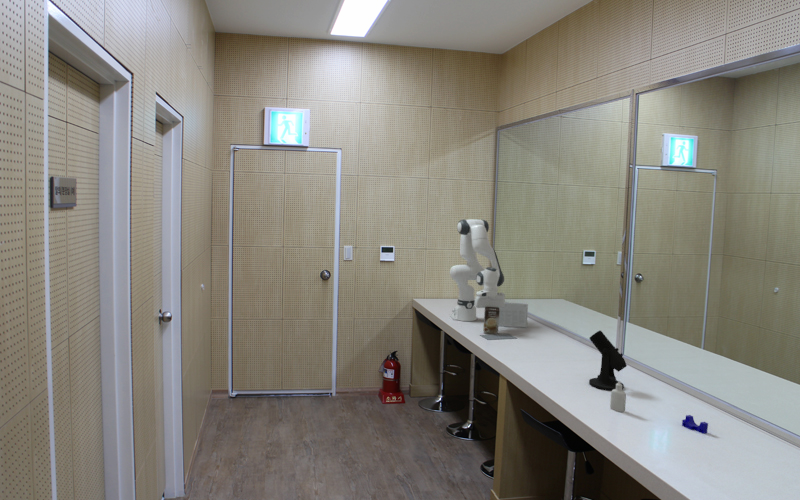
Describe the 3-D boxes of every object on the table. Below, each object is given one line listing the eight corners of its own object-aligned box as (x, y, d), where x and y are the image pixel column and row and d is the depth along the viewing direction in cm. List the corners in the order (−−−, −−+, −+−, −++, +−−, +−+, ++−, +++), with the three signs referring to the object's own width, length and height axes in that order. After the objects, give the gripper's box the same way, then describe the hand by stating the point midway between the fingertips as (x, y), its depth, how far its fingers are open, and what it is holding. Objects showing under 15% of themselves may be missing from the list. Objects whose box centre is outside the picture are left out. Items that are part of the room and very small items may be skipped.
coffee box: (483, 333, 342) (484, 309, 337) (483, 329, 348) (484, 306, 344) (498, 334, 341) (499, 310, 337) (497, 330, 347) (498, 306, 343)
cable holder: (682, 426, 205) (682, 415, 204) (689, 425, 206) (689, 415, 205) (699, 434, 197) (700, 424, 197) (707, 433, 198) (708, 423, 198)
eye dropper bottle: (618, 407, 221) (620, 378, 220) (626, 412, 216) (628, 383, 215) (608, 407, 221) (610, 379, 220) (616, 412, 215) (618, 383, 214)
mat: (479, 335, 336) (479, 335, 336) (508, 334, 342) (508, 333, 342) (487, 339, 326) (487, 339, 326) (517, 338, 331) (517, 338, 331)
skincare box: (526, 326, 368) (527, 302, 366) (527, 327, 362) (528, 304, 361) (494, 324, 370) (495, 301, 368) (495, 326, 364) (496, 302, 363)
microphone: (592, 377, 259) (596, 326, 257) (630, 386, 249) (633, 332, 246) (581, 384, 248) (584, 331, 246) (619, 394, 237) (623, 338, 235)
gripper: (502, 291, 351) (501, 312, 352) (473, 292, 345) (472, 313, 346) (507, 293, 345) (506, 314, 346) (478, 294, 339) (477, 315, 340)
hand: (489, 314), depth 346 cm, fingers closed
